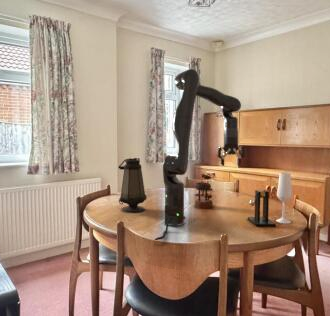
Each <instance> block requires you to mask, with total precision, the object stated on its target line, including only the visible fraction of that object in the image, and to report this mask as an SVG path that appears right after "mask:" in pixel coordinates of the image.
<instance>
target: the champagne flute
mask: <svg viewBox="0 0 330 316" xmlns="http://www.w3.org/2000/svg"><path fill="white" fill-rule="evenodd" d="M291 175H292V174H291V173H290V172H279V176H278V183H277V191H276V196H277V198H278V200H280V201H281V203H282V212H281V217H279V218H277V219H276V220H275V221H276V222H277V223H280V224H291V223H292V222H291V221H290V220H289V219H288V218H287V217H286V203H287V202H288V201H290V200H291V199H292V197H293V191H292V190H293V189H292V188H293V187H292V176H291Z"/></svg>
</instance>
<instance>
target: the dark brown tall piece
mask: <svg viewBox="0 0 330 316" xmlns="http://www.w3.org/2000/svg"><path fill="white" fill-rule="evenodd" d="M200 177H201V180H200V182H196V183H195V184H194V189H195V190H196V191H198V192H197V193H195V194H193V195H194V196H195V197H198V198H196V199H195V200H194V207H195V208H197V209H204V210H205V209H212V208H213V200H212V198H213V196H212V192H211V191H213V188H212V185H211V183H212V180H211V179H214V177H213V176H210V175H208V174H205V173H201V175H200ZM203 179H204V180H207V181H206V182H205V181H203ZM209 181H210V182H209ZM201 197H202V198H201Z"/></svg>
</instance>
